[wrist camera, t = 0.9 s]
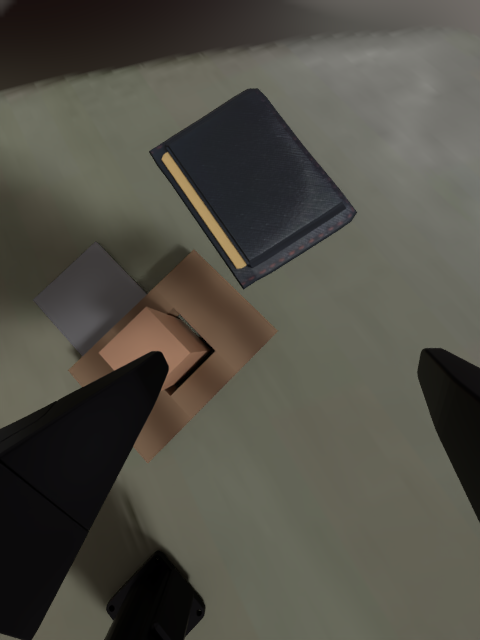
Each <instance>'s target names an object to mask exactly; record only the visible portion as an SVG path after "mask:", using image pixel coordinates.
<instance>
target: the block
mask: <svg viewBox="0 0 480 640" xmlns="http://www.w3.org/2000/svg"><path fill="white" fill-rule="evenodd" d="M151 351H161V352H162V353H163V355H164V357H165V359H166V361H167V363H168V365H169V372H168V374H167V377H166V379H165V382H164V384H163V386H162V389H161V391H163V390H165V389H167V388H168V387H170V386H172V385H174V384H176V383H178V382H180V381H181V380H182V379H183V378H184V377H185V376H186V375H187V374H188V373H189V372H190V371H191V370H192V369H193V368H194V367H195V366H196V365H197V364H198V363H199V362H200V361H201V360H202V359H203V358H204V357H205V356H206V355H207V354H208V353H209V352H210V351H211V350H210V348H209V347H208V346H207V345H206V344H205V343H204V342H203V341H202V340H201V339H200V338H199V337H198V336H197V335H196V334H195V333H194V332H193V331H192V330H191V329H190V328H189V327H188V326H187V325H186V324H185V323H184V322H183V321H182V320H181V319H178V318H175V317H173V316H170V315H167V314H165V313H162V312H159V311H157V310H154V309H151V308H149V307H145V308H144V309H143V310H142V311H141V312H140V313H139V314H138V315H137V316H136V317H135V318H134V319H133V320H132V321H131V322H130V323H129V324H128V325H127V326H126V327H125V328H124V329H122V330H121V331H120V332H119V333H118V334H117V335H116V336H115V337H114V338H113V339H112V340H111V341H110V342H109V343H108V344H107V345H106V346H105V347H104V348H103V349H102V350H101V351H100V352H99V354H100V355H101V356H102V357H103V358H104V360H105V361H106V362H107V363H108V364H109V365H110V366H111V367H112V369H113V370H116V369H118V368H120V367H122V366H124V365H126V364H128V363H130V362H132V361H134V360H135V359H137V358H139V357H141V356H143V355H145V354H147V353H149V352H151ZM161 391H160V392H161Z"/></svg>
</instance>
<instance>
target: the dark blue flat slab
mask: <svg viewBox="0 0 480 640" xmlns="http://www.w3.org/2000/svg"><path fill="white" fill-rule="evenodd" d="M149 152H150V154H151V156H152V157H153V159H154V161H155V162H156V164H157V166H158V167H159V168H160V170H161V171H162V172H163V174H164V175H165V176H166V178H167V179H168V180H169V182H170V183H171V184H172V186H173V187H174V189H175V190H176V192H177V193H178V195H179V196H180V198H181V199H182V200H183V202H184V203H185V205H186V206H187V208H188V209H189V211H190V212H191V214H192V215H193V216H194V218H195V219H196V221H197V222H198V224H199V225H200V227H201V228H202V230H203V231H204V233H205V234H206V235H207V237H208V238H209V240H210V241H211V243H212V244H213V246H214V247H215V249H216V250H217V251H218V253H219V254H220V256H221V257H222V259H223V260H224V262H225V263H226V265H227V266H228V268H229V269H230V270H231V272H232V273H233V275H234V276H235V278H236V279H237V281H238V282H239V284H240V285H241V286H242V288H243V289H245V288H246V287H248V286H249V285H251V284H252V283H254V282H255V281H257V280H259V279H261V278H263V277H265V276H266V275H268V274H270V273H272V272H273V271H275V270H277V269H278V268H280V267H281V266H283V265H285V264H286V263H288V262H289V261H291V260H292V259H294V258H296V257H297V256H299V255H300V254H302V253H304V252H305V251H307V250H308V249H310V248H311V247H313V246H315V245H316V244H318V243H319V242H321V241H322V240H324V239H326V238H327V237H329V236H330V235H332V234H333V233H335V232H337V231H338V230H340V229H341V228H342V227H344V226H345V225H347V224H348V223H350V222H351V221H352V219H353V218H354V216H355V215H356V213H357V212H356V210H355V209H354V208H353V206H352V205H351V203H350V202H349V201H348V199H347V198H346V197H345V196H344V194H343V193H342V192H341V191H340V189H339V188H338V187H337V186H336V184H335V183H334V182H333V181H332V179H331V178H330V177H329V176H328V175H327V173H326V172H325V171H324V170H323V169H322V167H321V166H320V165H319V164H318V163H317V161H316V160H315V159H314V158H313V156H312V155H311V154H310V153H309V152H308V150H307V149H306V148H305V147H304V146H303V144H302V143H301V142H300V140H299V139H298V138H297V136H296V135H295V134H294V133H293V131H292V130H291V129H290V127H289V126H288V125H287V124H286V122H285V121H284V120H283V118H282V117H281V116H280V115H279V113H278V112H277V111H276V109H275V108H274V107H273V105H272V104H271V103H270V101H269V100H268V98H267V97H266V96H265V95H264V94H263V93H262V92H261V91H260V90H259V89H258V88H256V89H247V90H245V91H243V92H241V93H240V94H238V95H236V96H234V97H233V98H231V99H230V100H228V101H227V102H225V103H224V104H222V105H221V106H219V107H218V108H216V109H215V110H213V111H212V112H210V113H209V114H207V115H206V116H204V117H202V118H201V119H199V120H198V121H196V122H195V123H193V124H191V125H190V126H188V127H186V128H185V129H183V130H182V131H180V132H178V133H177V134H175V135H174V136H172V137H171V138H169V139H168V140H166V141H165V142H163V143H162V144H160V145H158V146H157V147H155V148H154V149H152V150H151V151H149Z"/></svg>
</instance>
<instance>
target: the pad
mask: <svg viewBox="0 0 480 640" xmlns="http://www.w3.org/2000/svg"><path fill="white" fill-rule="evenodd" d="M146 295H147V293H146V292H145V291H144V290H143V289H142V288H141V287H140V286H139V285H138V284H137V283H136V282H135V281H134V280H133V279H132V278H131V277H130V276H129V275H128V273H127V272H126V271H125V270H124V269H123V268H122V267H121V266H120V265H119V264H118V263H117V262H116V261H115V260H114V259H113V258H112V257H111V256H110V255H109V254H108V253H107V252H106V251H105V250H104V249H103V247H102V246H101V245H100V244H99V243H97V242H96V241H95V242H94V243H93V244H92V245H91V246H90V247H89V248H88V249H87V250H86V251H85V252H84V253H83V254H81V255H80V256H79V257H78V258H77V259H76V260H75V261H74V262H73V263H72V264H71V265H70V266H69V267H68V268H66V269H65V270H64V271H63V272H62V273H61V274H60V275H59V276H58V277H57V278H56V279H55V280H54V281H52V282H51V283H50V284H49V285H48V286H47V287H46V288H45V289H44V290H43V291H42V292H41V293H40V294H38V295H37V296H36V297H35V298H34V299H33V301H34V302H35V303H36V304H37V305H38V306H39V307H40V309H41V310H42V311H43V312H44V313H45V314H46V315H47V317H48V318H49V319H50V320H51V321H52V322H53V323H54V325H55V326H56V327H57V328H58V329H59V330H60V331H61V333H62V334H63V335H64V336H65V337H66V338H67V339H68V341H69V342H70V343H71V344H72V345H73V346H74V347H75V349H76V350H77V351H78V352H79V353H80V354H81V355H82V357H83V356H84V355H85V354H86V353H87V352H88V351H89V350H90V349H91V348H92V347H93V346H94V345H95V344H96V343H97V342H98V341H99V340H100V339H101V338H102V337H103V336H104V335H105V334H106V333H107V332H108V331H110V330H111V329H112V328H113V327H114V326H115V325H116V324H117V323H118V322H119V321H120V320H121V319H122V318H123V317H124V316H125V315H126V314H127V313H128V312H129V311H130V310H131V309H132V308H133V307H134V306H136V305H137V304H138V303H139V302H140V301H141V300H142V299H143V298H144V297H145V296H146Z"/></svg>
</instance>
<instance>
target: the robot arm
mask: <svg viewBox="0 0 480 640" xmlns="http://www.w3.org/2000/svg"><path fill="white" fill-rule="evenodd" d="M168 372H169V365H168V363H167V361H166V359H165V357H164V355H163V353H162V352H161V351H151V352H149V353H147V354H145V355H143V356H141V357H139V358H137V359H135V360H134V361H132V362H130V363H128V364H126V365H124V366H122V367H120V368H118V369H116V370H114V371H113V372H111V373H109V374H107V375H105V376H103V377H101V378H99V379H97V380H95V381H93V382H91V383H90V384H88V385H86V386H84V387H82V388H80V389H78V390H76V391H74V392H72V393H70V394H69V395H67V396H65V397H63V398H61V399H59V400H58V401H55V402H53V403H51V404H49V405H47V406H46V407H44V408H42V409H40V410H38V411H36V412H34V413H32V414H30V415H28V416H26V417H24V418H22V419H20V420H18V421H16V422H14V423H12V424H10V425H8V426H6V427H4V428H2V429H0V633H1V634H4V635H8V636H11V637H14V638H18V639H21V640H32V638H33V637H34V635H35V633H36V632H37V630H38V628H39V626H40V624H41V623H42V621H43V619H44V617H45V615H46V613H47V611H48V609H49V607H50V605H51V603H52V601H53V600H54V598H55V596H56V594H57V592H58V590H59V588H60V586H61V584H62V582H63V580H64V578H65V577H66V575H67V573H68V571H69V569H70V567H71V565H72V563H73V561H74V559H75V557H76V555H77V553H78V552H79V550H80V548H81V546H82V544H83V542H84V540H85V538H86V536H87V534H88V532H89V531H88V530H90V528H91V526H92V524H93V522H94V520H95V518H96V517H97V515H98V513H99V511H100V509H101V507H102V505H103V503H104V501H105V499H106V497H107V495H108V494H109V492H110V490H111V488H112V486H113V484H114V482H115V480H116V478H117V476H118V474H119V472H120V471H121V469H122V467H123V465H124V463H125V461H126V459H127V457H128V455H129V453H130V451H131V450H132V448H133V446H134V444H135V442H136V440H137V438H138V436H139V434H140V432H141V430H142V428H143V427H144V425H145V423H146V421H147V419H148V417H149V415H150V413H151V411H152V409H153V407H154V405H155V403H156V401H157V399H158V396H159V394H160V391H161V389H162V386H163V384H164V382H165V379H166V377H167V374H168ZM417 374H418V379H419V382H420V385H421V388H422V391H423V394H424V397H425V400H426V403H427V406H428V409H429V412H430V415H431V418H432V421H433V424H434V426H435V429H436V431H437V434H438V436H439V438H440V440H441V443H442V445H443V447H444V449H445V451H446V453H447V455H448V457H449V459H450V461H451V463H452V466H453V468H454V470H455V472H456V474H457V476H458V478H459V480H460V482H461V484H462V487H463V489H464V491H465V493H466V495H467V497H468V499H469V501H470V503H471V505H472V508H473V510H474V512H475V514H476V516H477V518H478V520H479V522H480V368H479V367H477V366H475V365H473V364H471V363H469V362H467V361H465V360H463V359H462V358H460V357H458V356H456V355H454V354H452V353H450V352H448V351H446V350H444V349H442V348H425V349H423V350H422V351H421V355H420V360H419V365H418V371H417ZM156 558H159V560H157V559H156ZM106 610H107V612H108V614H109V615H110V617H111V618H112V619H113V620H114V621H113V623H112V625H111V627H110V629H109V631H108V633H107V635H106V637H105V639H104V640H184V639H185V637H186V635H187V634H188V633H189V632H190V631H191V630H192V629H193V628H194V627H195V626H196V625H197V624H198V622H199V621H200V620H201V619H202V618H203V617H204V614H205V604H204V603H203V601H202V600H201V599H200V598H199V596H198V595H197V594H196V593H195V592H194V590H193V589H192V588H191V587H190V585H189V584H188V583H187V582H186V581H185V579H184V578H183V577H182V576H181V574H180V573H179V572H178V571H177V570H176V568H175V567H174V566H173V565H172V564H171V562H170V561H169V560H168V559H167V557H166V556H165V555H164V554H163V553H162V552H161V551H156V552H155V553H154V554H153V555H152V556H151V557H150V558H149V559H148V560H147V561H146V562H145V563H144V564H143V566H142V567H141V568H140V569H139V570H138V571H137V572H136V573H135V574H134V575H133V576H132V577H131V578H130V579H129V580H128V581H127V582H126V583H125V584H124V585H123V586H122V588H121V589H120V590H119V591H118V592H117V593H116V594H115V595H114V596H113V597H112V598H111V599H110V601H109V603H108V605H107V607H106ZM199 610H201V611H199Z"/></svg>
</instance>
